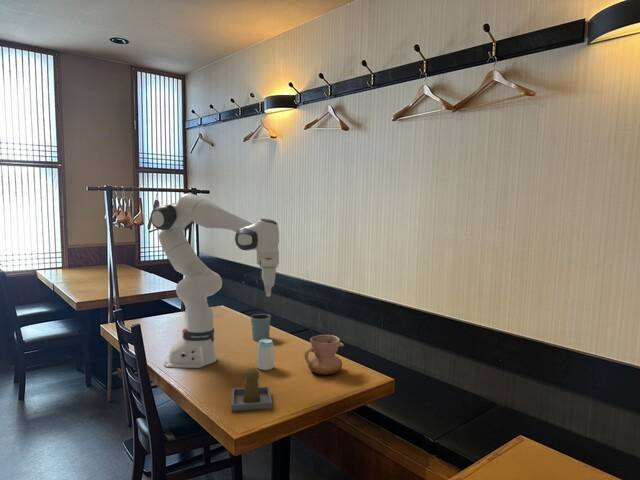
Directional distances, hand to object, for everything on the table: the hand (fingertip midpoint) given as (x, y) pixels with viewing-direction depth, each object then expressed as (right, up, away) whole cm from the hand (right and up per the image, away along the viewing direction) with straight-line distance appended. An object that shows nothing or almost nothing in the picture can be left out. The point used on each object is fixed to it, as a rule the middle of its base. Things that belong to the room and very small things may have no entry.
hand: (267, 293), depth 179 cm
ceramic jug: (+23, -34, +9) cm, 42 cm away
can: (-2, -33, +12) cm, 35 cm away
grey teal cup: (-10, -30, +52) cm, 61 cm away
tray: (-3, -36, -21) cm, 42 cm away
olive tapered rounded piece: (-3, -36, -21) cm, 41 cm away
